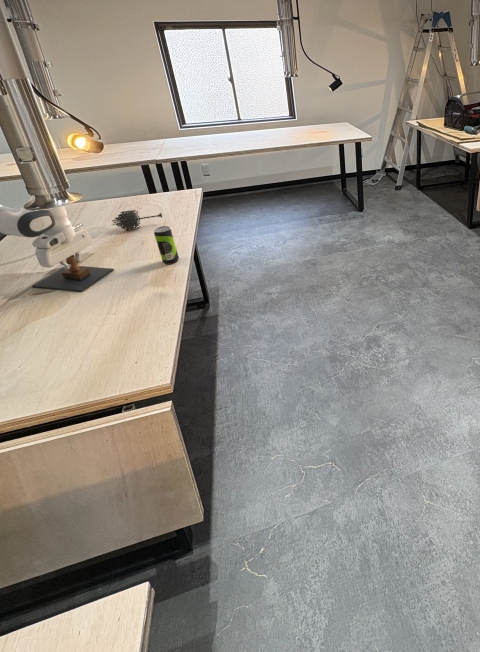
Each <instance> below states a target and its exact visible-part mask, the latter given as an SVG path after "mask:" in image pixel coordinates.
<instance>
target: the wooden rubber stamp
mask: <svg viewBox="0 0 480 652" xmlns="http://www.w3.org/2000/svg"><path fill="white" fill-rule="evenodd" d="M66 263H68V264H71V266H72V267H71V268H70V269H66V270H64V271H63V272H61V273H62V275H63V277H64V279H70V280H78V281H82V280H83V279H85V278H87V277H88V276H90V272H89V269H87V268H79V266H80V265H79V263H77V261H76V258H75V254H73V255H72V256H70V257H68V258H66Z"/></svg>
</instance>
